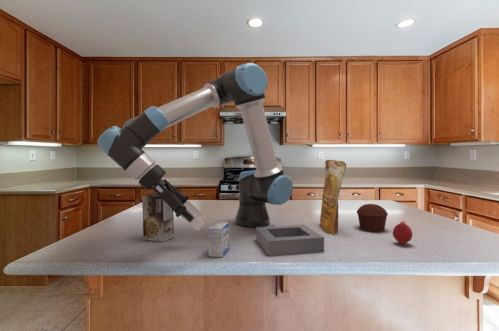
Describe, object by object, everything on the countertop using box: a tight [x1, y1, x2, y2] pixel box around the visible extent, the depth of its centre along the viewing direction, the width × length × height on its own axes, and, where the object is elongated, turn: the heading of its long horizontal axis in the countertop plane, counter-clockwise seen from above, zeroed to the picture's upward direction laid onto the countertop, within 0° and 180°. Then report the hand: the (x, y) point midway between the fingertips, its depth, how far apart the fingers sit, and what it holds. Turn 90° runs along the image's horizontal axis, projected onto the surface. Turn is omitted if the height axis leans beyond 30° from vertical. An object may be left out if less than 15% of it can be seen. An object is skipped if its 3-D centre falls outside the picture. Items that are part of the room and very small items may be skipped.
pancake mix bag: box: [319, 159, 347, 235], centre depth 112 cm, size 7×19×28 cm, turn 179°
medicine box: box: [207, 221, 230, 258], centre depth 85 cm, size 8×4×9 cm, turn 169°
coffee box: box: [141, 192, 175, 243], centre depth 100 cm, size 9×6×16 cm
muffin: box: [356, 203, 389, 233], centre depth 112 cm, size 12×11×10 cm
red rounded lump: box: [392, 220, 413, 245], centre depth 93 cm, size 6×6×8 cm
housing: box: [255, 224, 325, 257], centre depth 92 cm, size 16×18×4 cm
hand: (200, 221), depth 84 cm, fingers open, 13 cm apart
